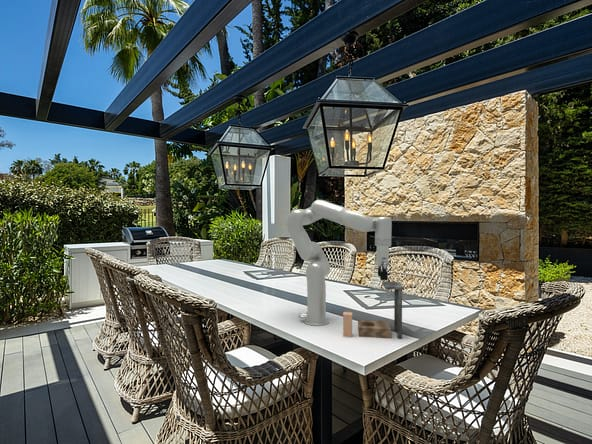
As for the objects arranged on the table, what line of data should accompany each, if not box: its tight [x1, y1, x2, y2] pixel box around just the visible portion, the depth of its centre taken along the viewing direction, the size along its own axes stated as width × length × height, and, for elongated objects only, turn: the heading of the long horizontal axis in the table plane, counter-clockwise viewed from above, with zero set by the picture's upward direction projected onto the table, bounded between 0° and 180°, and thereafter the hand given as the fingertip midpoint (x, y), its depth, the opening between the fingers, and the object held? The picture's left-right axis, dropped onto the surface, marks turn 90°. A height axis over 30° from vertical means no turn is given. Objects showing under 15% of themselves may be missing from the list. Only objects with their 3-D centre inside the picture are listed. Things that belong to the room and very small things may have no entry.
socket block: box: [357, 281, 405, 340], centre depth 154 cm, size 20×12×23 cm, turn 81°
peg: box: [342, 311, 353, 338], centre depth 152 cm, size 4×4×10 cm
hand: (382, 278), depth 159 cm, fingers open, 9 cm apart
